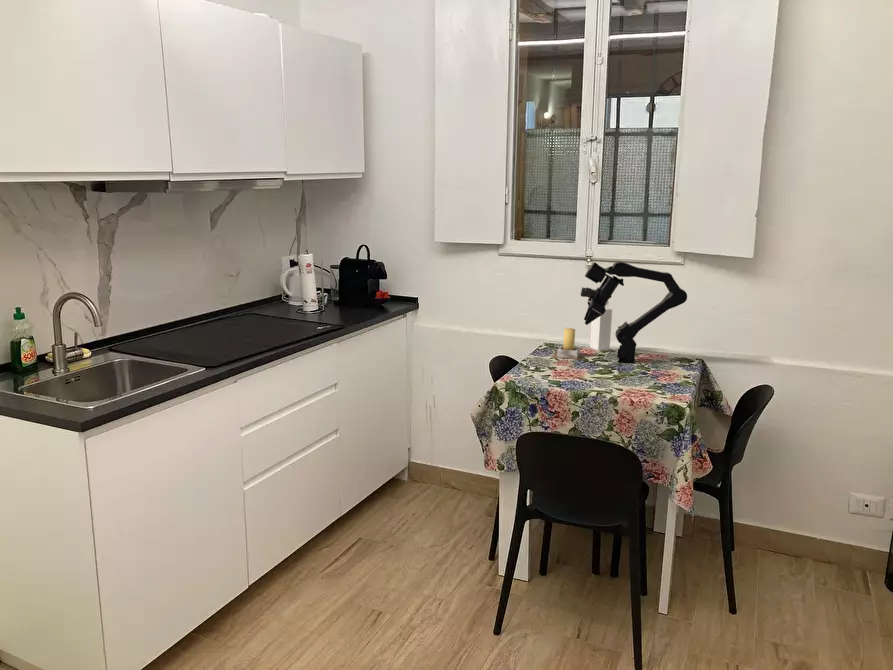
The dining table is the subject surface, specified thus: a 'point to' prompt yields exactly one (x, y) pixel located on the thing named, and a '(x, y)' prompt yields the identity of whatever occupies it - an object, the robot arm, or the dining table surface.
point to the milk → (601, 330)
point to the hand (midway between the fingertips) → (585, 322)
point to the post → (569, 339)
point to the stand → (568, 354)
